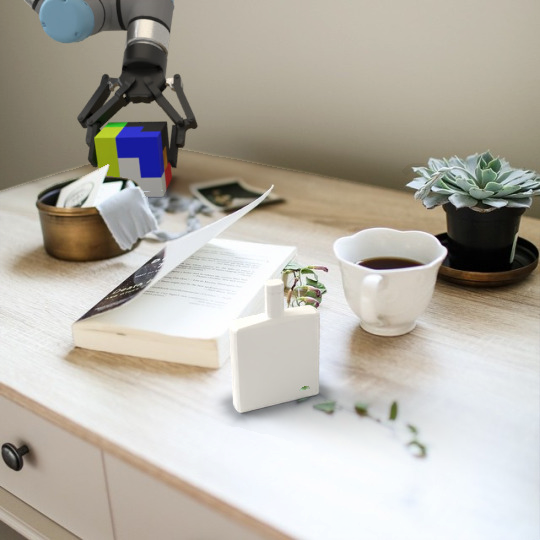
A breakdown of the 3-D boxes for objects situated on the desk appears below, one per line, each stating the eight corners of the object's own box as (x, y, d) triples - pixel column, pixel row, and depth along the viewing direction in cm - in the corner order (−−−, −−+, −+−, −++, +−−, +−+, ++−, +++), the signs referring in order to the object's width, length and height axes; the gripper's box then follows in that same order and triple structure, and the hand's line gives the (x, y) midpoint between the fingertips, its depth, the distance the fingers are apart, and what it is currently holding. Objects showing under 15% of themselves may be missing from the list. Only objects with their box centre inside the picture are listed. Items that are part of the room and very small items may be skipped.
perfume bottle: (312, 382, 63) (313, 269, 58) (320, 394, 62) (322, 278, 56) (231, 401, 61) (224, 285, 56) (237, 414, 59) (231, 295, 54)
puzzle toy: (163, 196, 110) (157, 136, 105) (102, 197, 110) (94, 137, 106) (172, 177, 119) (167, 121, 114) (115, 178, 119) (108, 122, 115)
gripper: (219, 66, 120) (210, 174, 113) (84, 67, 122) (67, 173, 115) (213, 39, 112) (202, 153, 106) (69, 41, 115) (50, 152, 108)
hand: (132, 163), depth 110 cm, fingers open, 13 cm apart
